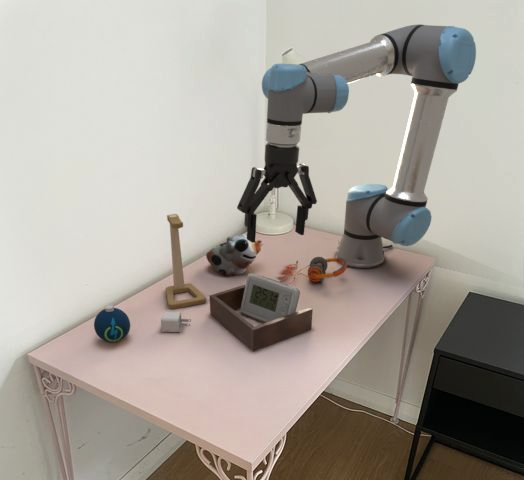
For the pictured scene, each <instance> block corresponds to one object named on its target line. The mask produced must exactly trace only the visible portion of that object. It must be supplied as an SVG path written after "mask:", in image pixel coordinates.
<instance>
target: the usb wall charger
mask: <svg viewBox="0 0 524 480" xmlns="http://www.w3.org/2000/svg"><path fill="white" fill-rule="evenodd" d="M191 322H192V318H182V312H176V311H175V312H174V311H163V312H162V315H161V318H160V324H161V325H160V326H161V332H162V333H180V332H181V330H182V327H190V326H191V324H190V323H191Z"/></svg>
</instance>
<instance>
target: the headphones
mask: <svg viewBox="0 0 524 480" xmlns="http://www.w3.org/2000/svg"><path fill="white" fill-rule="evenodd" d="M333 262H336V263H338V264H342V266H341V267H340V268H339V269H337V270H334V271H333V272H330V273H326V271H327V269H328V266H329V265H328V263H333ZM298 263H299V260H296V262H295V263H293V264H288V265H287V266H286V269H283V270H282V271H281V275H282V274H284V276H279V277H278V279H282V280H280V281H279V282H282V283H283V282H284V281H287V280H288V277H292V276H293V275H294V273H293V272H292V271H295V270H297V269H298V267H296V265H297V264H298ZM347 267H348V266H347V264H346V261H345V260H344V259H342V258H336V257H330V258H324V257H322V256H316V257H313V258H312V259H311V261H310V262H309V264H308V265H306V266H305V267H303V268H301V269H300V270H298V271H297V272H296V273H295V275H294V277H293V280H292V281H291V282H288V285H290V284H292V283H294V281H295V279H296V277H297V276H298V275H302V276H304V277H308V279H309V280H310V281H311V282H313V283H317V282H321V281H323V280H324V279H328V278H333V277H335V278H336V277H338V276H341V275H342V274H344V272H345V271H346V270H347ZM307 268H308V269H307ZM305 269H307V275H306V274H304V273H303V272H301V271H303V270H305ZM300 272H301V273H300Z"/></svg>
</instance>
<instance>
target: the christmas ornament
mask: <svg viewBox="0 0 524 480" xmlns="http://www.w3.org/2000/svg"><path fill="white" fill-rule="evenodd" d="M93 329H94V332H95V334H96V335H97V337H98V338H99V339H100V340H102V341H104V342H107V343H118V342H121V341H123V340H124V339H126V337H127V336H128V335H129V333H130V330H131V320H130V318H129V316H128V315H127V313H126V312H125V311H123V310H122V309H120V308H118V307H114V305H113V304H107V305H105V306H104V309H102V310H100V311H99V312H98V313H97V315H96V316H95V318H94V321H93Z"/></svg>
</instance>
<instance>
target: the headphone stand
mask: <svg viewBox="0 0 524 480" xmlns="http://www.w3.org/2000/svg"><path fill="white" fill-rule="evenodd" d="M166 219H167V222H168V223H169V235H170V249H171V263H172V265H171V266H172V279H173V280H172V281H173V285H169V286H166V287H165V295H166V302H167V307H168V309H171V310H175V309H181V308H185V307H192V306H197V305H203V304H205V303H206V301H207V298H206V296H205V295H204V294H203V293H202V292H201V291H200V290H199V289H198V288H196V286H195V285H193V283H189V282H186V283H185V277H184V269H183V268H184V267H183V258H182V249H181V240H180V231H179V229H182V228H183V227H184V221H182V220H181V218H180V216H179V215H178V214H177V213H172V214H167V216H166ZM182 293H190V294H191V295H192V296H193V297H192V298H186V299H181V300H175V296H174V295H176V294H182Z"/></svg>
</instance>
